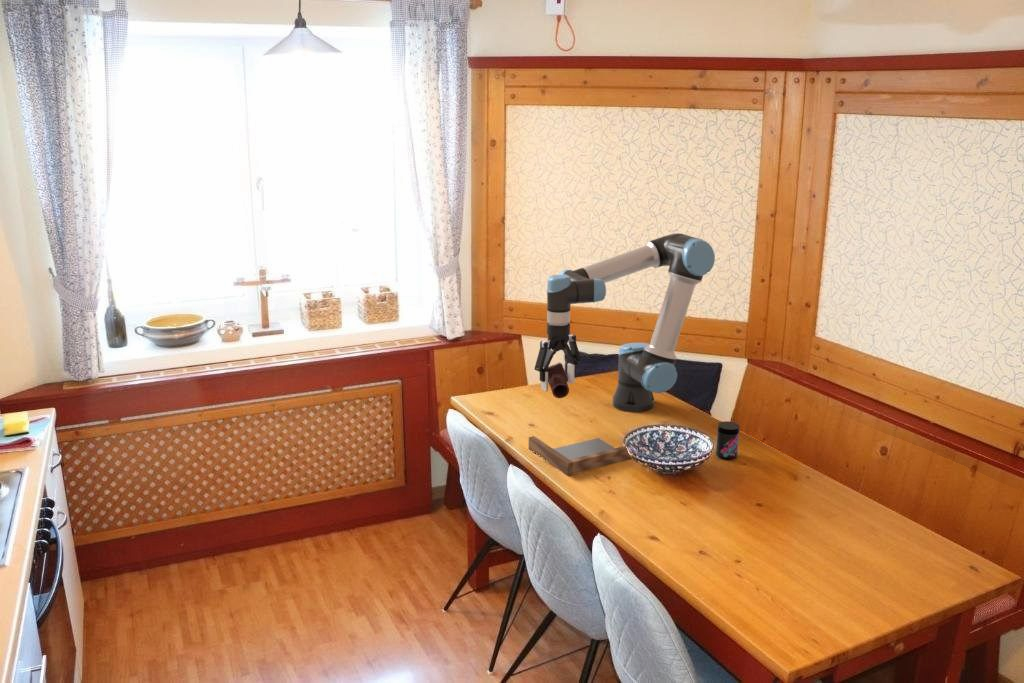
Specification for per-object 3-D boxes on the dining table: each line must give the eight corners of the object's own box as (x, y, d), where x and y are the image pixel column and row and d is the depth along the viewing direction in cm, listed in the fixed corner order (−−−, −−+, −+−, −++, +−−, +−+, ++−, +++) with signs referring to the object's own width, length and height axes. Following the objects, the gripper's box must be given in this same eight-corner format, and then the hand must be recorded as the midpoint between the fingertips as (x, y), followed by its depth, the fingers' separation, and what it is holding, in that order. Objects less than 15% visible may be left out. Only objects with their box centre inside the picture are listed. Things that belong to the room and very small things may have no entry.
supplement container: (714, 459, 269) (716, 428, 266) (716, 450, 275) (718, 420, 272) (737, 461, 267) (739, 430, 264) (737, 453, 273) (740, 422, 270)
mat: (598, 438, 285) (598, 437, 285) (617, 450, 276) (617, 449, 276) (546, 451, 275) (546, 450, 275) (565, 463, 266) (565, 462, 266)
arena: (590, 434, 289) (590, 423, 287) (632, 459, 269) (632, 447, 268) (528, 448, 277) (528, 437, 276) (567, 475, 258) (567, 463, 257)
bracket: (565, 372, 295) (556, 349, 290) (574, 399, 280) (564, 375, 275) (549, 379, 295) (539, 356, 290) (556, 406, 280) (546, 382, 276)
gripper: (577, 314, 290) (575, 376, 296) (523, 326, 276) (523, 391, 282) (592, 319, 284) (591, 381, 291) (538, 331, 270) (538, 397, 277)
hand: (557, 386), depth 286 cm, fingers closed on bracket, 11 cm apart
